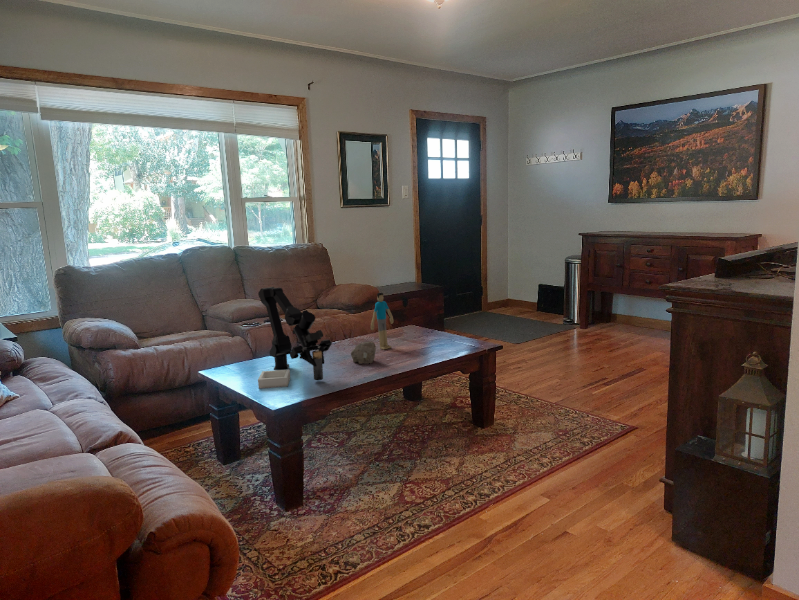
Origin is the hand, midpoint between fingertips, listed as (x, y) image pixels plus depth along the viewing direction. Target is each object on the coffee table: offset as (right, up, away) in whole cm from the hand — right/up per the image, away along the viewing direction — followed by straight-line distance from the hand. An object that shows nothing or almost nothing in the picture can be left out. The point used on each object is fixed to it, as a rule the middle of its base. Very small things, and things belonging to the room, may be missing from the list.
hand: (319, 364), depth 233 cm
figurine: (+26, +2, +54) cm, 61 cm away
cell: (-1, -6, +2) cm, 7 cm away
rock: (+18, -3, +30) cm, 35 cm away
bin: (-20, -8, +3) cm, 22 cm away
